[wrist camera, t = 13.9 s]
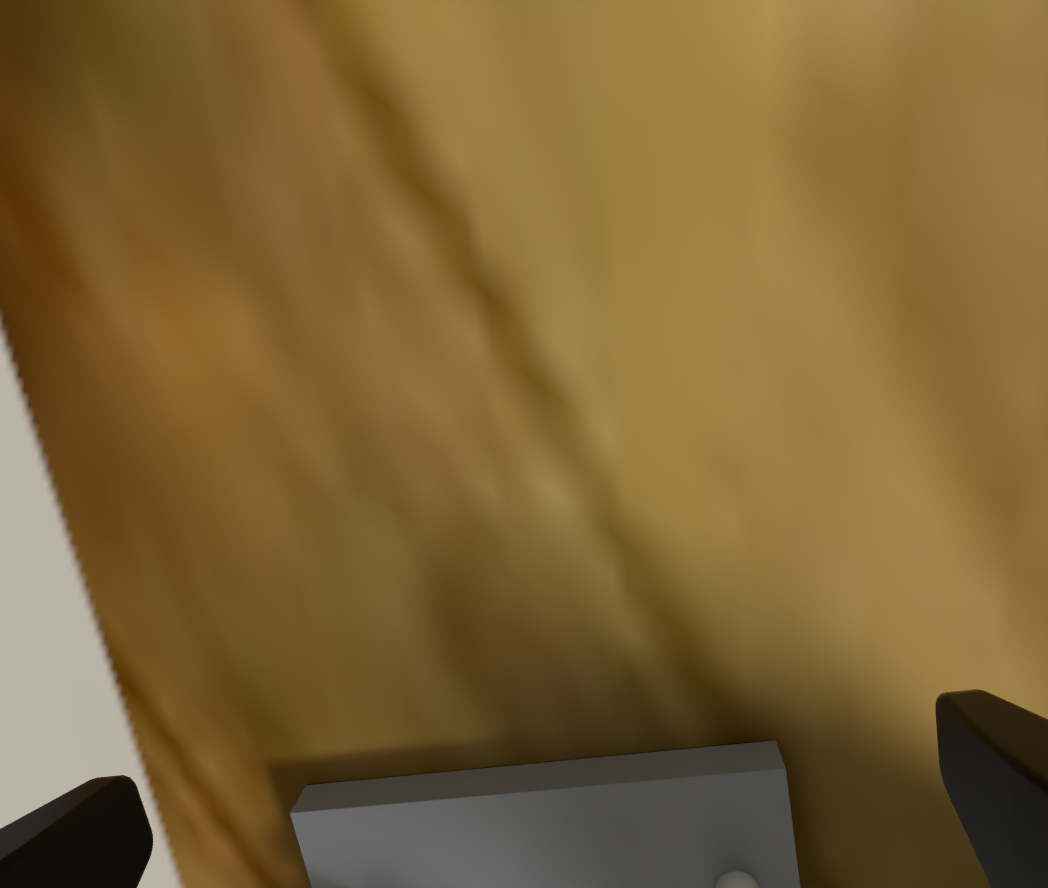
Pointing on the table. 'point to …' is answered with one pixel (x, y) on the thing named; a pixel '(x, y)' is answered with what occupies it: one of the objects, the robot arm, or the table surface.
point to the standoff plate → (560, 824)
